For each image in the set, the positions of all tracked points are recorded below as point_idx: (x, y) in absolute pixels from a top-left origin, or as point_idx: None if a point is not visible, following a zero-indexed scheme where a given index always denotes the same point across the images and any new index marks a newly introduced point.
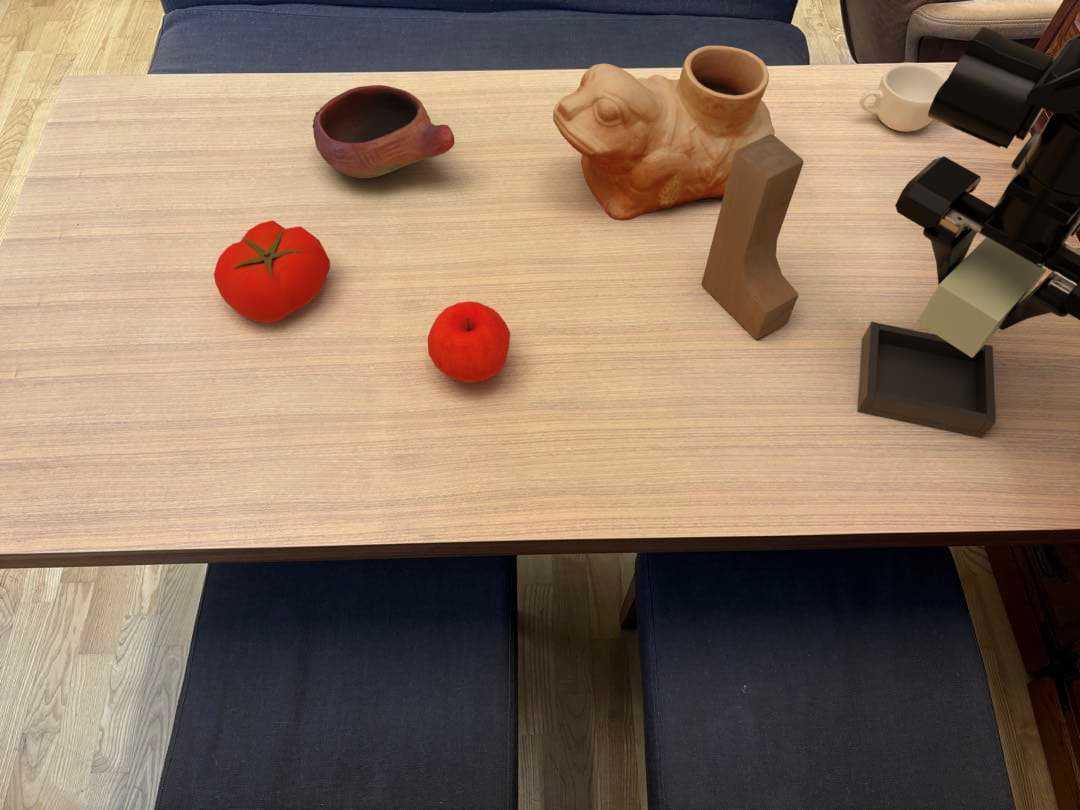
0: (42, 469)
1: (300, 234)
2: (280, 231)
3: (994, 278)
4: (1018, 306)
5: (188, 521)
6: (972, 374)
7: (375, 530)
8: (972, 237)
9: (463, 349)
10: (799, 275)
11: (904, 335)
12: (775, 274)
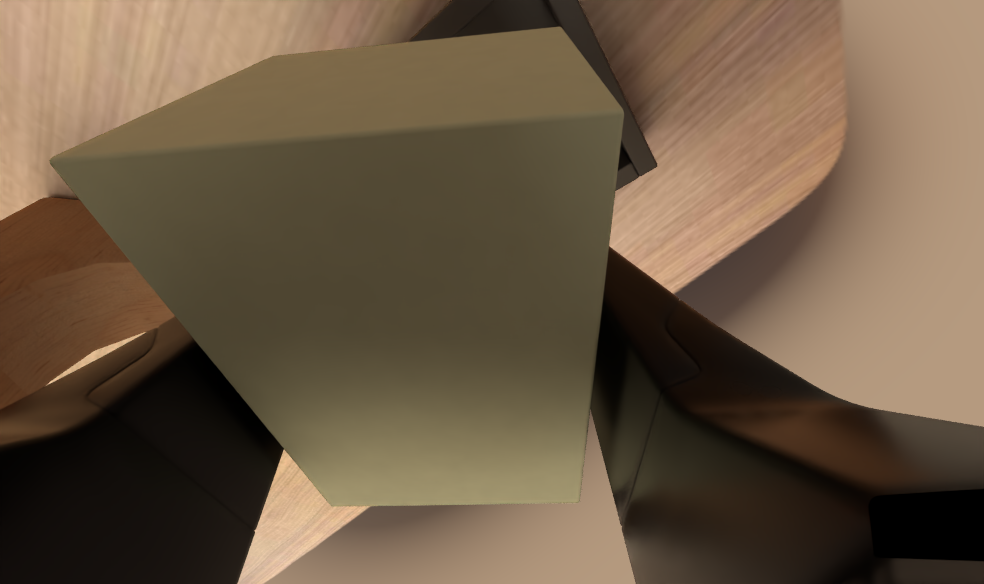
0: None
1: None
2: None
3: (424, 402)
4: (608, 467)
5: (270, 565)
6: (543, 17)
7: (322, 535)
8: (97, 475)
9: None
10: (83, 89)
11: None
12: (99, 282)
